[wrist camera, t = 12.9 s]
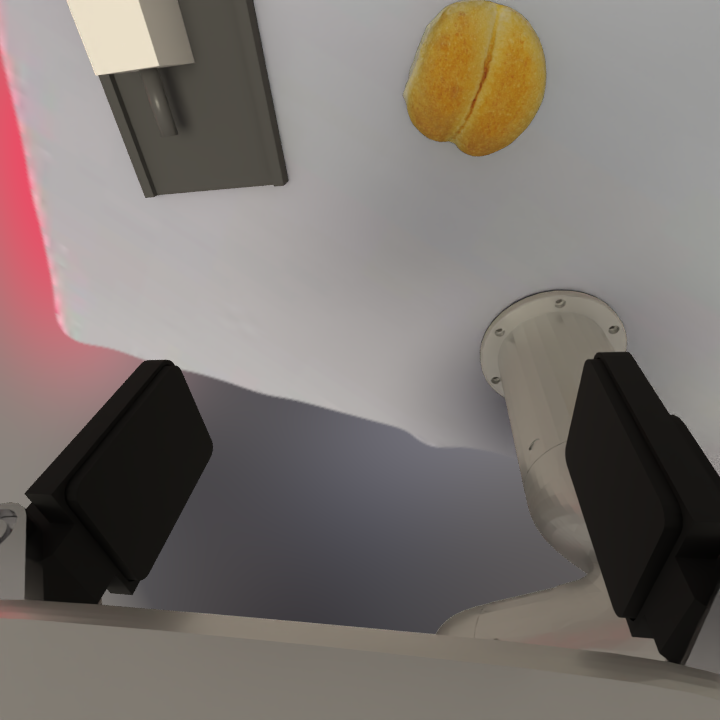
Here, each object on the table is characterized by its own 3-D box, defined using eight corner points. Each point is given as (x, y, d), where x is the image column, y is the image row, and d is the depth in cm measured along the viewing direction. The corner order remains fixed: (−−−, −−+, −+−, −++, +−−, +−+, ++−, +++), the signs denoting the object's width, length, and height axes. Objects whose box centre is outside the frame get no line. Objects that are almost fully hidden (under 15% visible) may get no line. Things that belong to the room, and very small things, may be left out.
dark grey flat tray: (288, 180, 35) (283, 185, 34) (153, 193, 37) (145, 197, 36) (212, -203, 24) (202, -215, 23) (24, -155, 26) (6, -164, 25)
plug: (212, 126, 33) (182, 138, 29) (159, 132, 34) (122, 145, 30) (147, -108, 26) (95, -136, 22) (82, -94, 27) (20, -117, 23)
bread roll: (503, 165, 33) (511, 179, 30) (392, 120, 32) (388, 128, 29) (570, 36, 28) (588, 36, 25) (441, -22, 27) (442, -30, 24)
